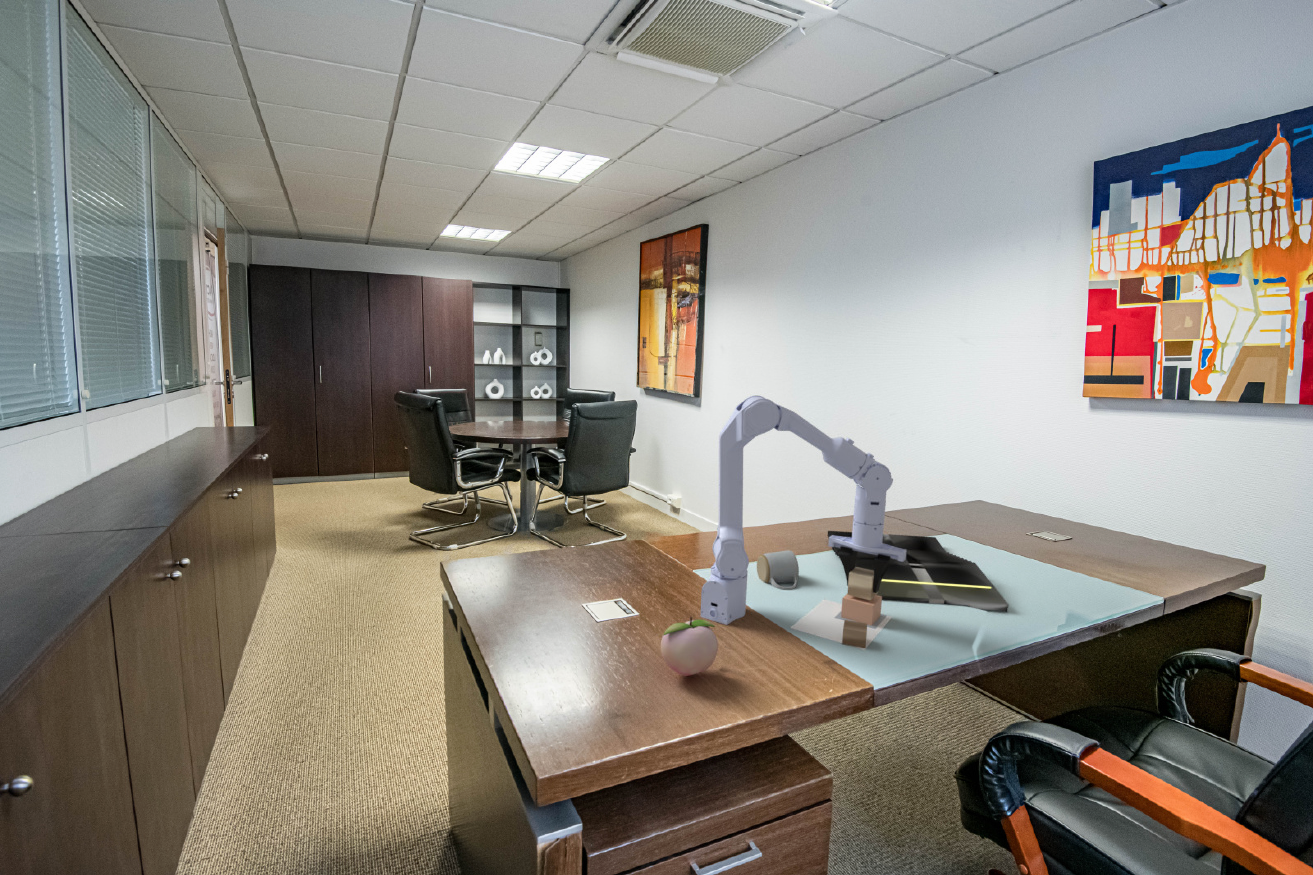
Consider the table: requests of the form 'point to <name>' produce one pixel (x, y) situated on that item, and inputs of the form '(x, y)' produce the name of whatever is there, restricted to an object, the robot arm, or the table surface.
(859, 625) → the block
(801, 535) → the table surface
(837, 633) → the mat
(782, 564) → the ceramic mug
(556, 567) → the table surface
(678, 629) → the decorative fruit
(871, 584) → the maple block
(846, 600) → the terracotta block
